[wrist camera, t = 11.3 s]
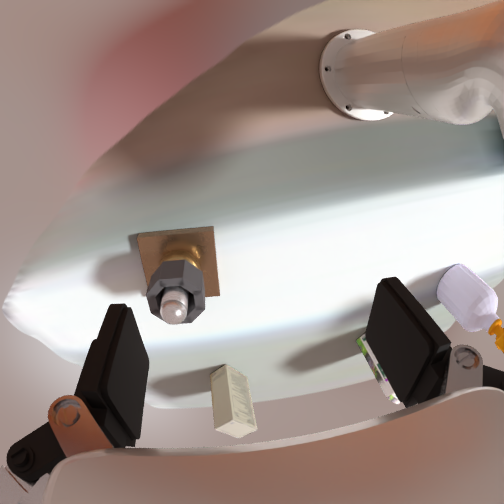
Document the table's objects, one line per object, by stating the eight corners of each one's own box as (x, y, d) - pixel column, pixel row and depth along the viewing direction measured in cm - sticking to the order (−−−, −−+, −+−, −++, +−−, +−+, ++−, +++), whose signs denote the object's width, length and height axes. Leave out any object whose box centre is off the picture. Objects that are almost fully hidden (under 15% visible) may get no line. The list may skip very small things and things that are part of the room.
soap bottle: (444, 307, 54) (510, 388, 32) (429, 289, 50) (504, 379, 29) (472, 276, 51) (544, 350, 30) (459, 255, 48) (543, 334, 26)
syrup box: (378, 320, 52) (414, 377, 39) (390, 333, 54) (424, 386, 42) (355, 339, 53) (385, 398, 41) (368, 351, 56) (398, 406, 43)
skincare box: (209, 373, 53) (212, 429, 42) (226, 362, 52) (232, 419, 41) (232, 387, 55) (238, 439, 45) (249, 377, 54) (258, 430, 44)
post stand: (213, 226, 39) (215, 275, 29) (219, 289, 44) (223, 349, 33) (139, 233, 38) (115, 283, 28) (152, 294, 43) (139, 353, 33)
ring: (200, 257, 36) (200, 276, 32) (206, 301, 39) (206, 321, 35) (148, 262, 35) (142, 280, 31) (158, 305, 38) (154, 325, 34)
